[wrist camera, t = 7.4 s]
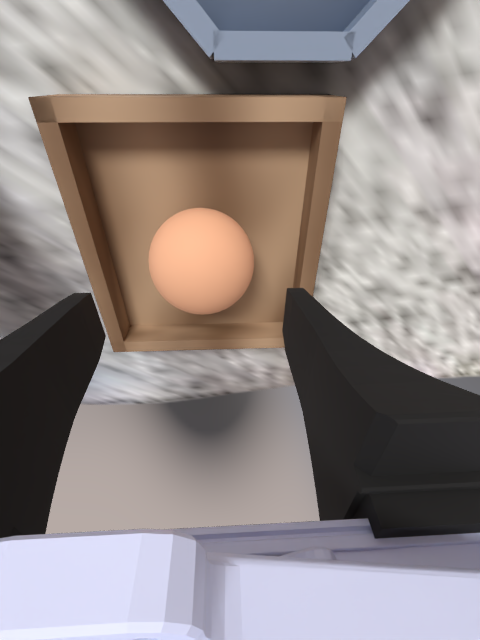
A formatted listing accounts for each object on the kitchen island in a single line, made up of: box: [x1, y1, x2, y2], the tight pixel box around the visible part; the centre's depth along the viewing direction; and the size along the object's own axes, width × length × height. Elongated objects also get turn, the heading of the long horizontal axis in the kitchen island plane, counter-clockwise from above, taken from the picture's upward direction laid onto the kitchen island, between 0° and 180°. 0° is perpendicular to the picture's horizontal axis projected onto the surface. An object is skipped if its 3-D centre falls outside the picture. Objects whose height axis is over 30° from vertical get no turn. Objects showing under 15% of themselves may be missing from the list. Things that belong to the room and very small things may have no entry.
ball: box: [148, 208, 254, 315], centre depth 15 cm, size 5×5×5 cm
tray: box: [28, 94, 347, 352], centre depth 17 cm, size 12×13×3 cm
